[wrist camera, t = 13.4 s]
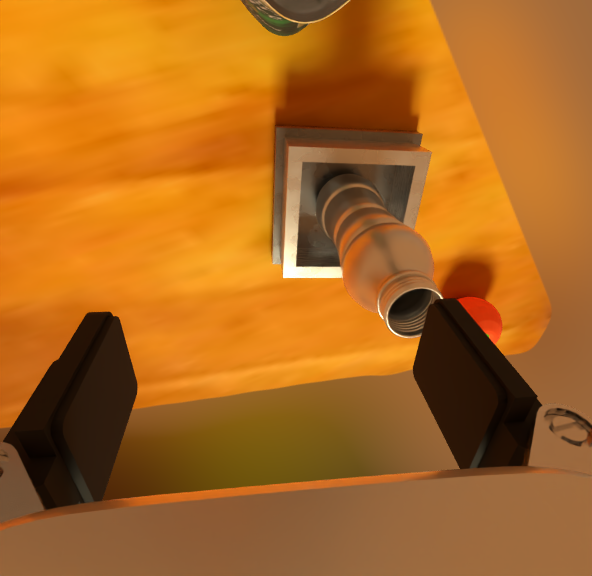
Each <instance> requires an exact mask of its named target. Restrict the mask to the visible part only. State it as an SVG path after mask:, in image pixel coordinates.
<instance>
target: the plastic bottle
mask: <svg viewBox="0 0 592 576" xmlns="http://www.w3.org/2000/svg"><path fill="white" fill-rule="evenodd" d="M316 216H317V221H318V223H319V226H320V228H321V229H322V230H323V232H324V233H325V234H326V235H327V237H329V238H330V239H331V240H332V241H333V243H334V244H335V246H336V248H337V252H338V255H339V258H340V265H341V272H342V277H343V281H344V285H345V287H346V289H347V292H348V293H349V295H350V296H351V297H352V298H353V299H354V300H355V301H356V302H357V303H359V304H360V305H361V306H362V307H363V308H365V309H367V310H369V311H372V312H376V313H379V315H380V316H381V318H382V319H383V320H384V321H385V323H386V325H387V327H388V328H389V329H390V330H391V331H392V332H393V333H394V334H395V335H397V336H400V337H403V338H416V337H420V336H421V334H422V330H423V326H424V323H425V319H426V315H427V311H428V307H429V305H430V304H434V301H435V300H436V299H444V298H443V296H442V294H441V292H440V291H439V290H438V289H437V287H436V285H435V283H434V281H433V280H432V279H433V273H434V262H433V258H432V254H431V251H430V248H429V246H428V244H427V242H426V241H425V240H424V239H423V238H422V236H421V235H419V234H418V233H417V232H416V231H415V230H413V229H412V228H410V227H408V226H407V225H405V224H403V223H402V222H400V221H399V220H397V219H396V218H395V217H394V216H393V215H391V214H390V213H389V212H388V211H387V209H386V207H385V206H384V203H383V200H382V197H381V195H380V193H379V191H378V190H377V188H376V186H375V185H374V184H373V183H372V182H371V181H369V180H368V179H366V178H363V177H361V176H358V175H355V174H342V175H338V176H336V177H334V178H332V179H331V180H329V181H328V182H327V183H326V184H325V185H324V186H323V187H322V189H321V191H320V192H319V195H318V197H317V202H316Z"/></svg>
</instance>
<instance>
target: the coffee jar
mask: <svg viewBox="0 0 592 576" xmlns="http://www.w3.org/2000/svg"><path fill="white" fill-rule="evenodd" d="M241 1H242V3H243V4H244V5H245V6H246V8H247V9H248V10H249V11H250V13H251V14H252V15H253V16H254V17H255V18H256V19H257V20H258V21H259V22H260V23H261V24H262V26H263V27H265V28H266V29H267V30H268V31H270V32H272V33H274V34H276V35H280V36H289V35H293V34H295V33H297V32H299V31H301V30H302V29H303V28H305V27H306V26H307V25H308V24H310V23H314V22H318V21H321V20H323V19H325V18H327V17H329V16H331V15H332V14H334V13H335V12H337V11H338V10H339V9H340V8H342V7H343V6H344V5H346V4H347V3H348V2H349V1H350V0H241Z"/></svg>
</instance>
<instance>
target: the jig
mask: <svg viewBox="0 0 592 576" xmlns="http://www.w3.org/2000/svg"><path fill="white" fill-rule="evenodd" d="M421 139H422V134H421V133H419V132H417V131H395V130H373V129H352V128H330V127H308V126H286V125H275V160H274V198H273V236H272V263H273V264H281V267H282V274H283V278H343V277H342V272H341V265H340V258H339V255H338V252H337V248H336V246H335V244H334V243H333V241H332V240H331V239H330V238H329V237H327V235H326V234H325V233H324V232H323V230H322V229H321V228H320V226H319V223H318V221H317V216H316V202H317V197H318V195H319V192H320V191H321V189H322V187H323V186H324V185H325V184H326V183H327V182H328V181H329V180H331V179H332V178H334V177H336V176H338V175H342V174H355V175H358V176H361V177H363V178H366V179H368V180H369V181H371V182H372V183H373V184H374V185H375V186H376V188H377V190H378V191H379V193H380V195H381V197H382V200H383V203H384V206H385V207H386V209H387V211H388V212H389V213H390V214H391V215H393V216H394V217H395V218H396V219H397V220H399V221H400V222H402V223H403V224H405V225H407V226H408V227H410V228H412V229H413V230H414V228H415V223H416V219H417V215H418V210H419V206H420V202H421V197H422V193H423V188H424V184H425V180H426V175H427V171H428V167H429V162H430V158H431V153H432V152H431V151H429V150H427V149H425V148H423V147H421V146H420V144H421Z"/></svg>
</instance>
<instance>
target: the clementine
mask: <svg viewBox="0 0 592 576" xmlns="http://www.w3.org/2000/svg"><path fill="white" fill-rule="evenodd" d="M457 300H458V301H459V302H460V303H461V305H462V306H463V307H464V308H465V309H466V311H467V312H468V313H469V314H470V315H471V317H472V318H473V319H474V320H475V321H476V323H477V324H478V325H479V326H480V328H481V329H482V330H483V331H484V332H485V334H486V335H487V336H488V337H489V338H490V340H491V341H492V342H493V343H494V344H495V343H496V342H497V341H498V340H499V338H500V335H501V332H502V321H501V317H500V314H499V313H498V311H497V310H496V308H495V307H494V306H493V305H492V304H490V303H489V302H487V301H486V300H484V299H481V298H477V297H463V298H459V299H457Z"/></svg>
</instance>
